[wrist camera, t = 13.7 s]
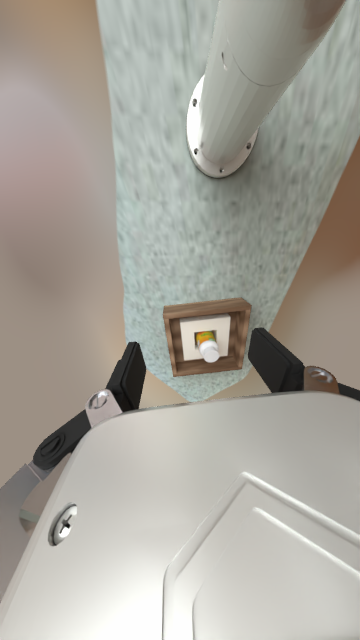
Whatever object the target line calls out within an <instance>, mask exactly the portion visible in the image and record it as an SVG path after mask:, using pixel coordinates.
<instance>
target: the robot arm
mask: <svg viewBox="0 0 360 640" xmlns="http://www.w3.org/2000/svg"><path fill="white" fill-rule="evenodd" d="M345 2H346V0H219V4H218V9H217V14H216V19H215V24H214V29H213V35H212V40H211V45H210V50H209V55H208V60H207V65H206V70H205V74H204V75H203V76H202V78H201V79H200V81H199V82H198V84H197V85H196V87H195V89H194V92H193V94H192V96H191V100H190V103H189V107H188V113H187V121H186V138H187V144H188V148H189V151H190V155H191V157H192V159H193V161H194V163H195V164H196V166H197V167H198V168H199V169H200V170H201V171H202V172H203V173H204V174H206V175H208V176H210V177H215V178H221V177H225V176H228V175H230V174H232V173H233V172H235V171H236V170H237V169H238V168H239V167H240V166H241V165H242V164H243V163H244V161H245V160H246V158H247V157H248V156H249V154H250V152H251V150H252V148H253V146H254V143H255V140H256V137H257V133H258V128H259V126H260V125H261V123H262V122H263V120H264V119H265V118H266V116H267V115H268V114H269V112H270V111H271V110H272V108H273V107H274V106H275V104H276V103H277V101H278V100H279V99H280V97H281V96H282V95H283V93H284V92H285V91H286V89H287V88H288V86H289V85H290V84H291V82H292V81H293V80H294V78H295V77H296V76H297V74H298V73H299V71H300V70H301V69H302V67H303V66H304V65H305V63H306V62H307V61H308V59H309V58H310V57H311V55H312V54H313V52H314V51H315V50H316V48H317V47H318V46H319V44H320V43H321V42H322V40H323V39H324V37H325V36H326V34H327V33H328V31H329V29H330V28H331V26H332V25H333V23H334V22H335V20H336V18H337V16H338V15H339V13H340V11H341V9H342V8H343V6H344V4H345ZM193 106H195V107H193ZM246 147H247V148H248V149H247V148H246ZM194 153H196V154H197V155H195V154H194ZM220 170H221V172H222V173H220ZM248 358H249V360H250V362H251V363H252V365H253V366H254V367H255V369H256V370H257V372H258V373H259V375H260V376H261V377H262V379H263V381H264V382H265V383H266V385H267V386H268V388H269V389H270V390H271V392H272V393H270V394H261V395H251V396H242V397H233V398H225V399H215V400H206V401H198V402H189V403H181V404H173V405H165V406H157V407H150V408H143V409H139V403H140V399H141V394H142V389H143V384H144V379H145V374H146V365H145V362H144V359H143V355H142V352H141V348H140V345H139V343H137V342H129V343H128V345H127V347H126V350H125V352H124V354H123V356H122V359H121V360H119V361H118V362H117V365H116V367H115V369H114V372H113V373H112V375H111V378H110V380H109V382H108V384H107V386H106V388H105V389H102V390H99V391H97V392H95V393H94V394H93V395H91V396H90V398H89V399H88V400H87V402H86V405H85V410H83V411H82V412H81V413H79V414H78V415H77V416H75V417H74V418H73V419H71V420H70V421H68V422H67V423H66V424H65V425H63V426H62V427H60V428H59V429H58V430H56V431H55V432H54V433H52V434H51V435H50V436H48V437H47V438H46V439H45V440H44V441H43V442H42V443H41V444H40V445H39V447H38V448H37V450H36V452H35V454H34V456H33V460H32V461H31V462H30V463H29V464H28V465H27V464H25V465H24V466H22V467H21V468H20V470H19V471H17V472H16V473H15V474H14V475H13V476H12V478H11V479H9V480H8V481H7V482H6V483H5V485H4V486H2V487H1V489H0V640H360V391H359V390H357V389H354V388H351V387H349V386H346V385H343V384H340V383H338V382H337V380H336V378H335V377H334V375H332V374H331V373H330V372H328V371H327V370H325V369H323V368H320V367H316V366H307V367H305V366H304V365H303V363H302V362H301V361H300V360H299V359H298V358H297V357H296V356H294V355H293V354H292V353H291V352H290V351H289V350H288V349H287V348H285V347H284V346H283V345H282V344H281V343H280V342H279V341H277V340H276V339H275V338H274V337H273V336H272V335H271V334H269V332H267V331H266V330H265V329H264V328H255V329H254V330H253V331H252V335H251V341H250V346H249V352H248Z"/></svg>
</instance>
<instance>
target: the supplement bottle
mask: <svg viewBox="0 0 360 640" xmlns="http://www.w3.org/2000/svg"><path fill="white" fill-rule="evenodd" d="M196 341H197V345H198V349H199V352H200V354H201V355H202V356H203V357H204V360H205V361H206V362H210V363H211V362H215V361H217V360H218V358H219V353H218V351H219V347H218V344H217V342H216V340H215V338H214V335H213V333H212V332H211V331H202V332H197V333H196Z"/></svg>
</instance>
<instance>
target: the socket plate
mask: <svg viewBox="0 0 360 640" xmlns="http://www.w3.org/2000/svg"><path fill="white" fill-rule="evenodd" d="M180 327H181V336H182V345H183V354H184V360H193V359H202V358H204V357H203V356H202V355H201V354H200V352H199V349H198V345H195V339H194V332H202V331H211V330H214V338H215V340H216V342H217V344H218V347H219V351H218V353H219V357H220V356H227V355H228V342H229V330H230V316H229V315H228V313H225V314H216V315H207V316H198V317H189V318H180Z"/></svg>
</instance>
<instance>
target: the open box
mask: <svg viewBox="0 0 360 640" xmlns="http://www.w3.org/2000/svg"><path fill="white" fill-rule="evenodd" d="M251 306H252V305H250V304H249V303H248V302H246V301H245V300H244V299H242V298H232V299H223V300H214V301H205V302H196V303H187V304H178V305H169V306H164V311H163V318H164V324H165V330H166V336H167V342H168V348H169V354H170V360H171V365H172V371H173V377H177V376H186V375H194V374H203V373H212V372H221V371H230V370H239V369H242V365H243V358H244V352H245V345H246V338H247V332H248V325H249V319H250V312H251ZM225 313H228V315H229V316H230V330H229V342H228V355H227V356H220V357H219V358H218V360H217V361H215V362H211V363H210V362H206V361H205V360H204V358H202V359H193V360H184V354H183V345H182V336H181V327H180V318H189V317H198V316H207V315H216V314H225ZM211 332H212V333H213V335H214V330H211ZM196 333H197V332H194V339H195V345H197V341H196Z"/></svg>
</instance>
